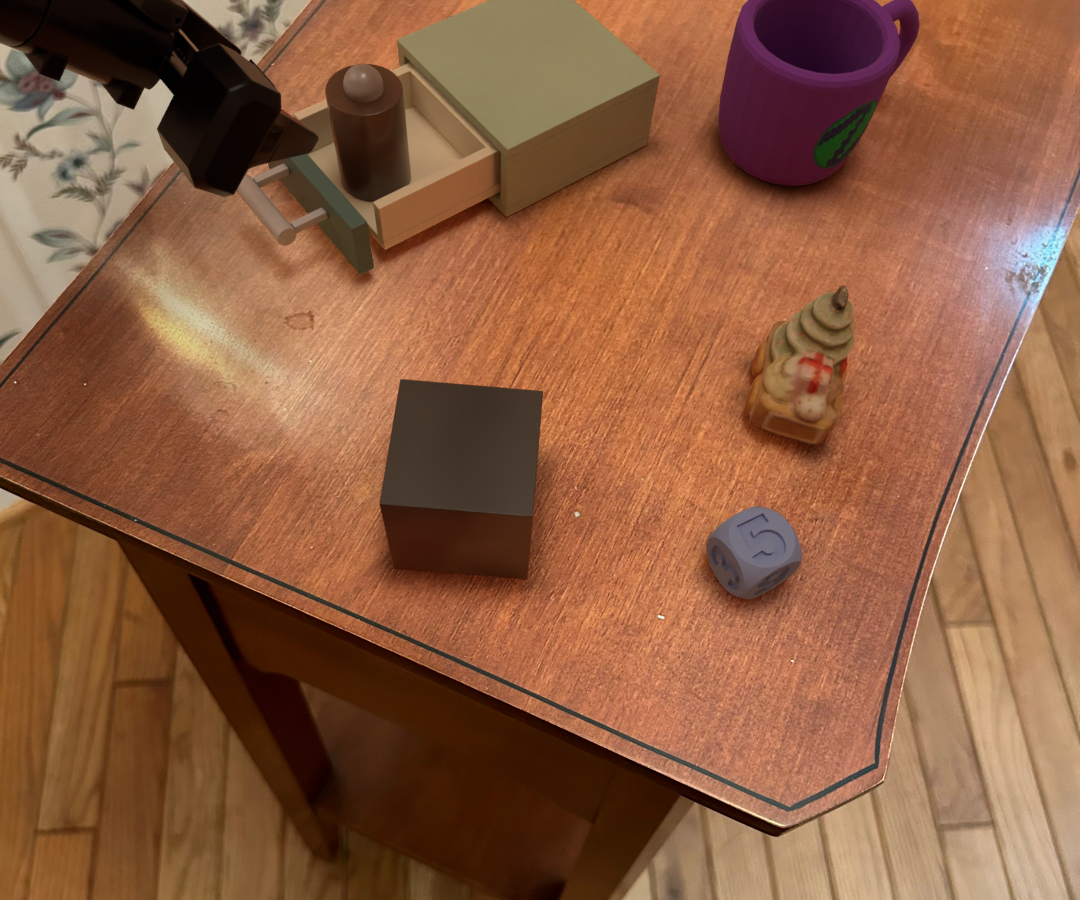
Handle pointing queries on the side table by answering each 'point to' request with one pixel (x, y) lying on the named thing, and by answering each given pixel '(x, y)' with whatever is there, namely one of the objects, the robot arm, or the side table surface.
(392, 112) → the pepper mill
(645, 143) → the cabinet
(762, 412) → the ornament
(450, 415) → the block
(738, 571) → the decorative dice
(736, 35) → the mug
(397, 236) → the drawer
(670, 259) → the side table surface
